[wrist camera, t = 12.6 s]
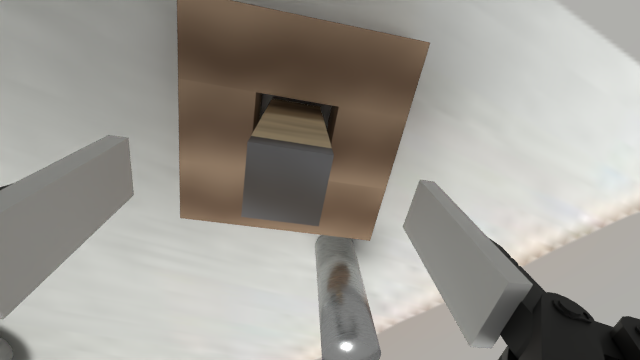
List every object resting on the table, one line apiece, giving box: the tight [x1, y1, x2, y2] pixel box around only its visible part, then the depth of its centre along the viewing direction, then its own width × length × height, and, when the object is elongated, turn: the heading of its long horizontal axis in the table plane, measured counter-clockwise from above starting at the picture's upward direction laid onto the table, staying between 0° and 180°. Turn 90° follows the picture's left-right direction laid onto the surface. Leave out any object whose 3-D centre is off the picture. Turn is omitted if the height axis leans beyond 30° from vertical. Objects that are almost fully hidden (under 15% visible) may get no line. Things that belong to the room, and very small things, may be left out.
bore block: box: [177, 0, 430, 241], centre depth 23 cm, size 16×16×4 cm
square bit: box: [241, 98, 334, 226], centre depth 20 cm, size 4×4×12 cm
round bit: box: [315, 235, 381, 360], centre depth 25 cm, size 4×4×12 cm
